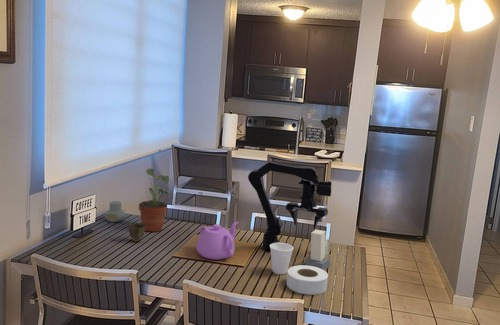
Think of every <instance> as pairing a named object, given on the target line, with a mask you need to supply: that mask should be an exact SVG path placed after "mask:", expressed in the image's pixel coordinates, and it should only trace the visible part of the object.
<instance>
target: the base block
mask: <svg viewBox="0 0 500 325" xmlns="http://www.w3.org/2000/svg"><path fill="white" fill-rule="evenodd" d="M330 263H331V258H329V257H325V258H324V259H323V260H322V261H316V260H311V255H310V256H308V257H306V258H305V259H304V265H307V266H313V267H317V268H320V269H322V270H324V271H326V270H327V269H328V268H330V265H331V264H330Z"/></svg>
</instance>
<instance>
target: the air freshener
mask: <svg viewBox="0 0 500 325" xmlns="http://www.w3.org/2000/svg"><path fill="white" fill-rule="evenodd" d="M126 217H127V214H126V212H125V211H124V210H123V209H122V202H121V201H118V200H116V201H110V202H109V209H108V210H107V211H106V212H104V219H105V220H106V221H107V222H110V223H119V222H122V221H123V220H125V218H126Z"/></svg>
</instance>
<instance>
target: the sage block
mask: <svg viewBox="0 0 500 325" xmlns="http://www.w3.org/2000/svg"><path fill="white" fill-rule="evenodd" d="M328 252H329V241H326V240H325V256H327V255H328Z"/></svg>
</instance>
